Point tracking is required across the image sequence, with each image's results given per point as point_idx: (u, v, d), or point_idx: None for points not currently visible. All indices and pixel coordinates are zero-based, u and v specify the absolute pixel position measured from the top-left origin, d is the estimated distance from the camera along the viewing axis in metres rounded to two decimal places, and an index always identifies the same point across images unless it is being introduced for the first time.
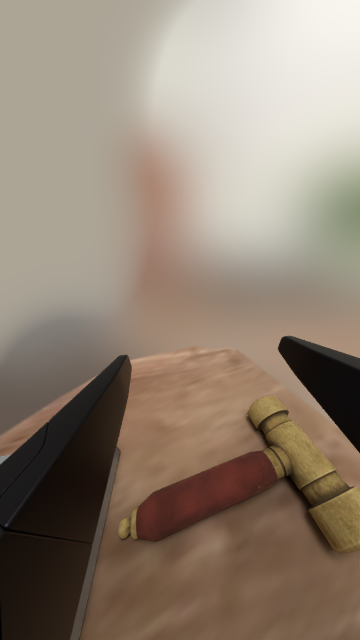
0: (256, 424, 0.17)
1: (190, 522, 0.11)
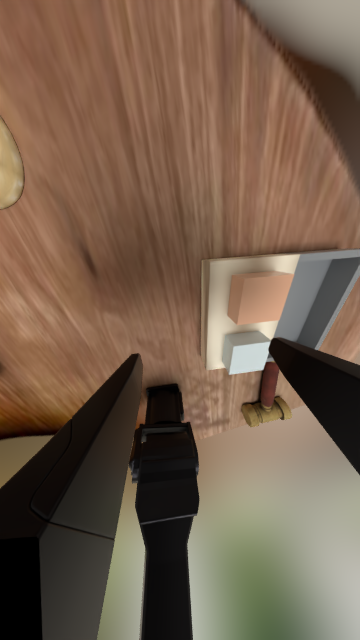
0: (279, 403, 0.32)
1: (266, 378, 0.27)
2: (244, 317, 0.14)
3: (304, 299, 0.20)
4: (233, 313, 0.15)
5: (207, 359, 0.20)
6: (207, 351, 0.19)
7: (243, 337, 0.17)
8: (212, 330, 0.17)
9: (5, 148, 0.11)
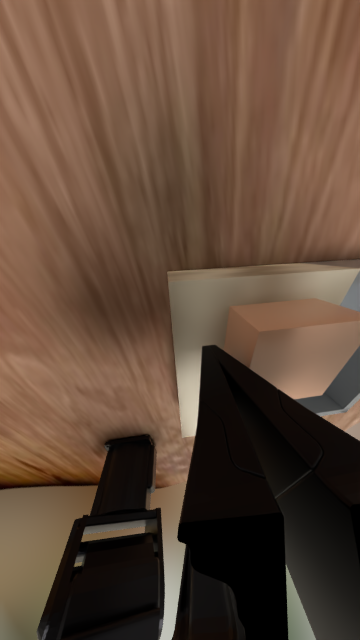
0: None
1: None
2: None
3: None
4: None
5: (182, 426, 0.13)
6: (181, 417, 0.12)
7: None
8: (186, 392, 0.10)
9: None
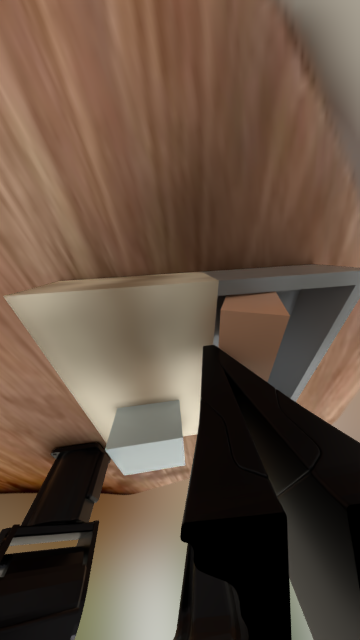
0: None
1: None
2: None
3: None
4: None
5: (103, 436, 0.12)
6: (98, 427, 0.12)
7: (141, 418, 0.10)
8: (89, 404, 0.10)
9: None
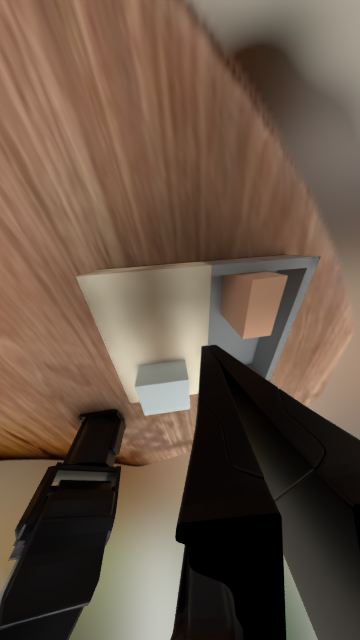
0: None
1: None
2: None
3: None
4: (260, 328, 0.11)
5: (127, 392, 0.16)
6: (123, 383, 0.15)
7: (158, 370, 0.13)
8: (119, 361, 0.13)
9: None
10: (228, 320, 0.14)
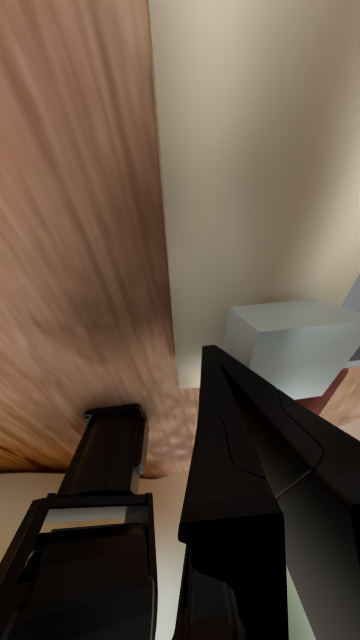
0: None
1: None
2: None
3: None
4: None
5: (179, 367, 0.09)
6: (177, 349, 0.08)
7: (280, 310, 0.06)
8: (184, 291, 0.06)
9: None
10: None
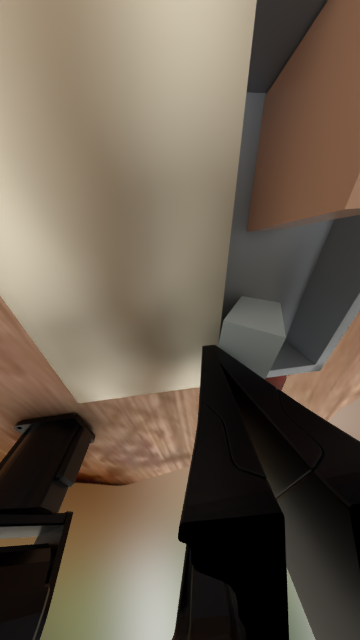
0: None
1: None
2: None
3: (299, 245, 0.09)
4: None
5: (65, 381, 0.08)
6: (53, 363, 0.08)
7: (251, 311, 0.07)
8: (24, 305, 0.06)
9: None
10: (271, 220, 0.06)
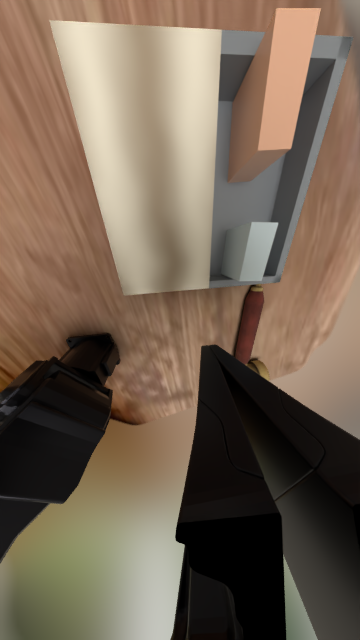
0: (256, 364, 0.26)
1: (245, 319, 0.21)
2: None
3: (261, 193, 0.14)
4: (280, 129, 0.09)
5: (119, 274, 0.14)
6: (114, 258, 0.13)
7: None
8: (109, 212, 0.11)
9: None
10: (237, 169, 0.12)
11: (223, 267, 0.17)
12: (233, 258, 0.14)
